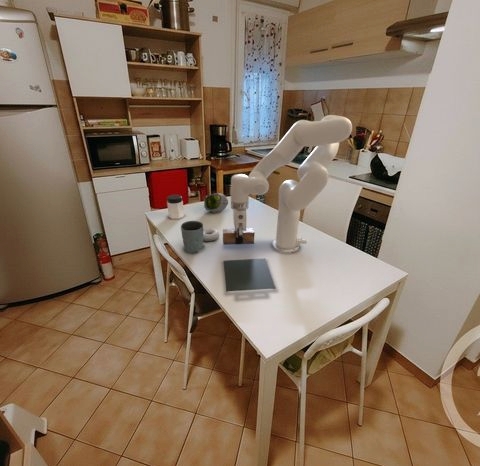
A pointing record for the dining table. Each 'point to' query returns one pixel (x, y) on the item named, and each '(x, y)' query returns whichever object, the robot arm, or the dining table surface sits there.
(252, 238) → the eraser
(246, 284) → the slate board
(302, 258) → the dining table surface
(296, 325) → the dining table surface
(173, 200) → the jar
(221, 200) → the potted plant
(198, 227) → the gray cup
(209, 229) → the donut
